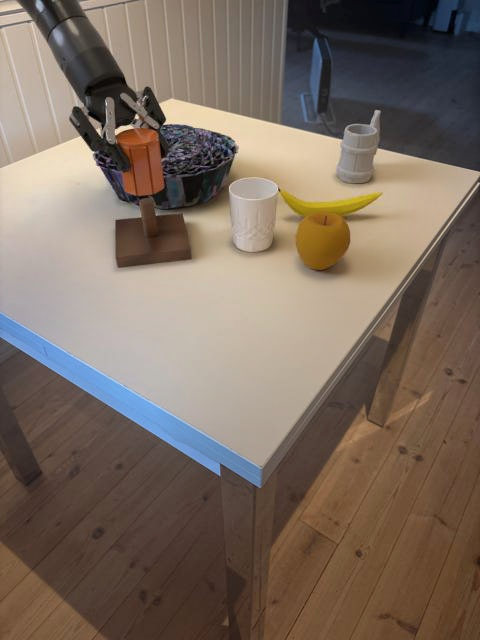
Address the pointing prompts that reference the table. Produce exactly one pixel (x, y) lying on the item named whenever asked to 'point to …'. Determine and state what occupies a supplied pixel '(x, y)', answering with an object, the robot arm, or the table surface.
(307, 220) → the apple
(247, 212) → the white cup
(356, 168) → the mug
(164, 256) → the cup stand
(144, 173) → the orange cup
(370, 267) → the table surface
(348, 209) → the banana
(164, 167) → the decorative bowl
